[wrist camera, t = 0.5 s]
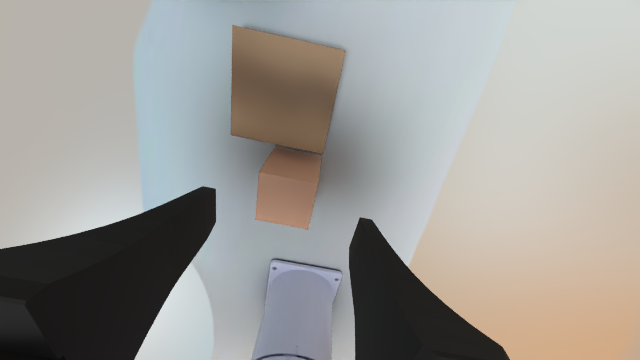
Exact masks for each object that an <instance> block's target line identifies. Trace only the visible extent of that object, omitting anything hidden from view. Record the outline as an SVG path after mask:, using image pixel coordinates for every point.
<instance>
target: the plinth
mask: <svg viewBox="0 0 640 360" xmlns="http://www.w3.org/2000/svg"><path fill="white" fill-rule="evenodd" d="M345 52H346V51H345V50H341V49H336V48H332V47H328V46H323V45H319V44H314V43H310V42H305V41H301V40H296V39H292V38H287V37H283V36H279V35H274V34H270V33H265V32H261V31H256V30H252V29H247V28H243V27H238V26H234V25H233V31H232V95H231V135H232V136H237V137H242V138H247V139H252V140H257V141H262V142H267V143H272V144H277V145H282V146H287V147H292V148H296V149H301V150H306V151H311V152H316V153H321V154H323V153H324V148H325V143H326V139H327V134H328V130H329V125H330V120H331V116H332V111H333V107H334V102H335V97H336V93H337V88H338V84H339V79H340V75H341V70H342V65H343V61H344V56H345Z"/></svg>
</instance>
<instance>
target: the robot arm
mask: <svg viewBox="0 0 640 360" xmlns="http://www.w3.org/2000/svg"><path fill="white" fill-rule="evenodd" d="M215 223H216V189H214V188H209V187H204V186H203V187H200V188H198V189H196V190H193V191H191V192H189V193H187V194H185V195H183V196H180V197H178V198H176V199H174V200H172V201H170V202H167V203H165V204H163V205H160V206H158V207H156V208H153V209H151V210H148V211H146V212H143V213H141V214H139V215H136V216H133V217H130V218H128V219H125V220H122V221H119V222H116V223H113V224H109V225H106V226H103V227H99V228H95V229H92V230H88V231H85V232H81V233H77V234H73V235H70V236H65V237H61V238H56V239H52V240H47V241H42V242H38V243H32V244H27V245H22V246H16V247H10V248H4V249H0V360H134V359H135V356H136V355H137V353H138V351H139V349H140V347H141V345H142V343H143V341H144V339H145V337H146V335H147V333H148V331H149V329H150V328H151V326H152V324H153V322H154V320H155V319H156V317H157V315H158V313H159V311H160V309H161V308H162V306H163V304H164V302H165V301H166V299H167V297H168V296H169V294H170V292H171V290H172V289H173V287H174V285H175V284H176V282H177V281H178V279H179V278H180V276H181V275H182V274H183V272H184V271H185V269H186V268H187V266H188V265H189V264H190V262H191V261H192V260H193V258H194V257H195V256H196V254H197V253H198V251H199V250H200V248H201V247H202V246H203V244H204V243H205V241H206V240H207V238H208V236H209V234H210V233H211V231H212V229H213V227H214V225H215ZM349 270H350V279H351V288H352V296H353V305H354V315H355V360H510V359H509V357H508V356H507V354H506V352H505V351H504V349H503V347H502V346H500V345H499V344H498V343H496V342H495V341H493V340H492V339H490V338H489V337H487V336H486V335H485V334H483V333H482V332H480V331H479V330H478V329H476V328H475V327H473V326H472V325H471V324H469V323H468V322H467V321H466V320H464V319H463V318H462V317H460V316H459V315H458V314H457V313H455V312H454V311H453V310H452V309H451V308H449V307H448V306H447V305H446V304H445V303H443V302H442V301H441V300H440V299H439V298H438V297H437V296H436V295H434V294H433V293H432V292H431V291H430V290H429V289H428V288H427V287H426V286H425V285H424V284H423V283H422V282H421V281H420V280H419V279H418V278H417V277H416V276H415V275H414V274H413V273H412V272H411V270H410V269H409V268H408V267H407V266H406V265H405V264H404V262H403V261H402V260H401V259H400V258H399V256H398V255H397V254H396V253H395V251H394V250H393V249H392V247H391V246H390V245H389V243H388V242H387V241H386V239H385V238H384V236H383V235H382V234H381V232H380V231H379V229H378V228H377V226H376V225H375V223H374V222H373V221H372V220H371V219H366V218H361V217H360V218H359V221H358V224H357V227H356V230H355V233H354V236H353V238H352V241H351V244H350V247H349ZM341 278H342V273H341V272H340V271H335V270H330V269H324V268H319V267H313V266H308V265H302V264H297V263H291V262H285V261H280V260H272V261H271V264H270V272H269V279H268V286H267V294H266V301H265V308H264V314H263V317H262V321H261V325H260V329H259V332H258V336H257V340H256V343H255V347H254V351H253V355H252V358H251V360H332V304H333V301H334V298H335V295H336V292H337V290H338V287H339V284H340V281H341Z"/></svg>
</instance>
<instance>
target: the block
mask: <svg viewBox="0 0 640 360" xmlns="http://www.w3.org/2000/svg"><path fill="white" fill-rule="evenodd" d="M321 158H322V155H317V154H312V153H307V152H302V151H297V150H292V149H287V148H282V147H277V146H275V148H274V149H273V151H272V152H271V154H270V156H269V157H268V159H267V160H266V162H265V164H264V165H263V167H262V169H261V170H260V172H259V180H258V193H257V205H256V217H255V220H260V221H266V222H271V223H276V224H282V225H287V226H292V227H298V228H303V229H309V224H310V220H311V215H312V211H313V206H314V202H315V197H316V193H317V188H318V184H319V175H320V167H321Z"/></svg>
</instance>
